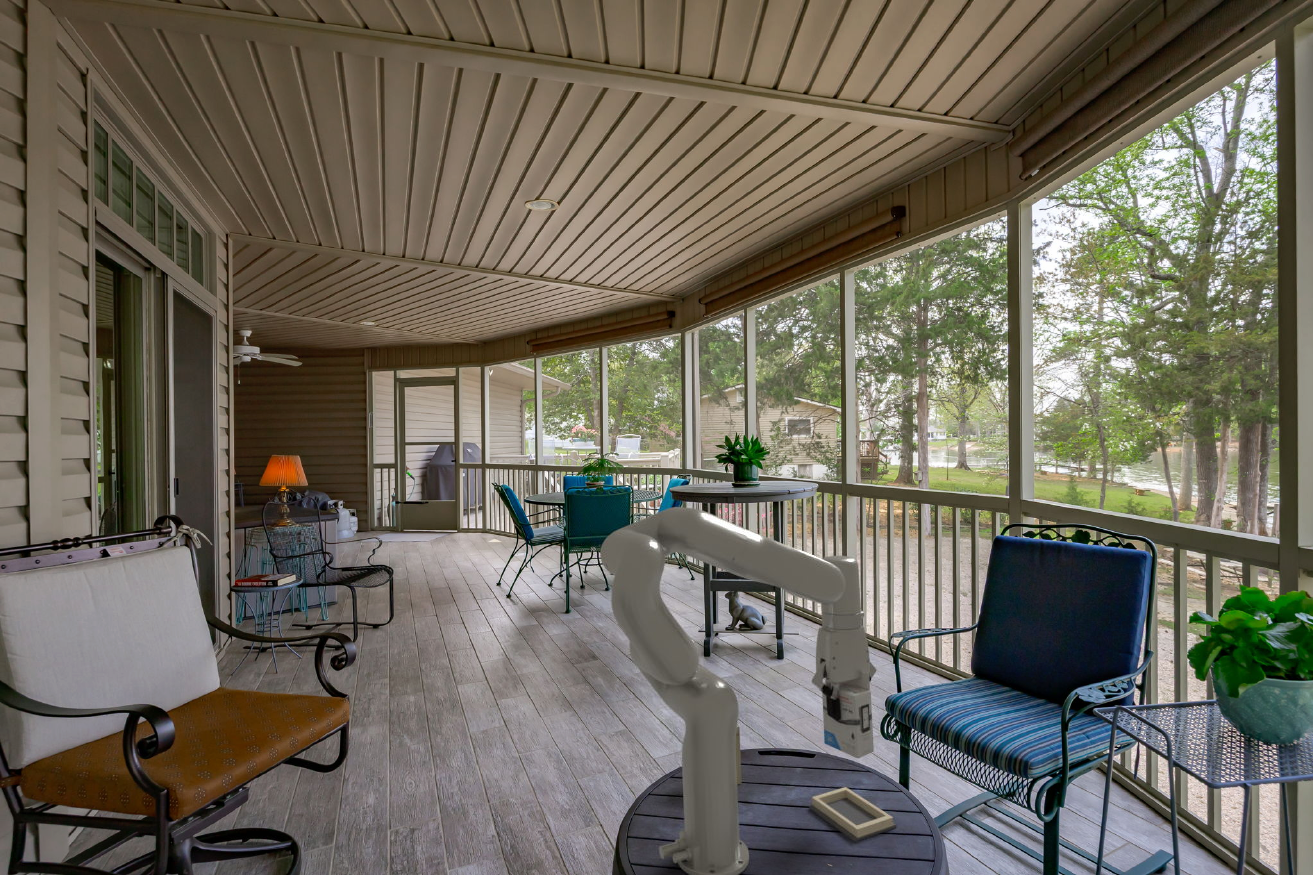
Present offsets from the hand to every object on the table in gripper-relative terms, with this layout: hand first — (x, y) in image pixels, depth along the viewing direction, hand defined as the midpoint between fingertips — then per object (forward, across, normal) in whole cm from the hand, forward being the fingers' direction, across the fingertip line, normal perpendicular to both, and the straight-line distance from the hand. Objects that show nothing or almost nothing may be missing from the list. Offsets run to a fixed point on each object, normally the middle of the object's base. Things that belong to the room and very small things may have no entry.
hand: (846, 713), depth 124 cm
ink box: (+7, 0, 0) cm, 7 cm away
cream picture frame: (+20, 0, 0) cm, 20 cm away
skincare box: (+20, +14, -24) cm, 34 cm away
